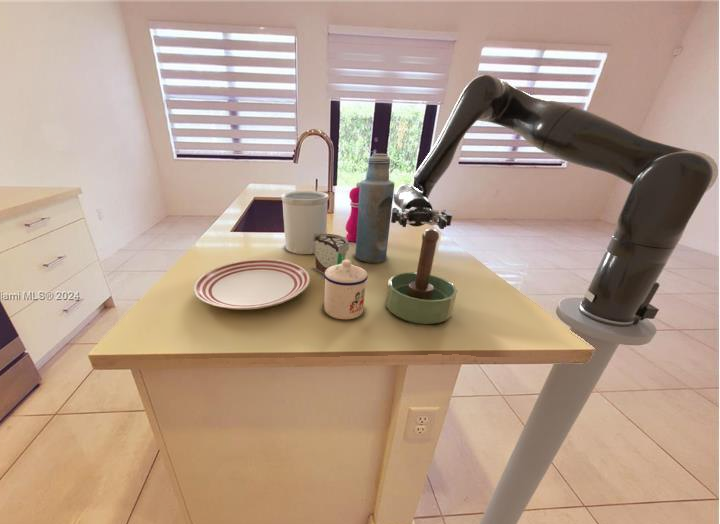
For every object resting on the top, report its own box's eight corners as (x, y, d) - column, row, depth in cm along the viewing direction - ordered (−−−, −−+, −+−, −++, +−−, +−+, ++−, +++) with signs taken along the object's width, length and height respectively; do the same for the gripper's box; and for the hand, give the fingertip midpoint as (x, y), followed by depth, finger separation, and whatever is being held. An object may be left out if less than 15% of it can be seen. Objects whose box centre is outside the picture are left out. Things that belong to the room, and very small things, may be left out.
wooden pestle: (427, 301, 72) (443, 226, 64) (431, 313, 68) (448, 233, 59) (404, 299, 73) (417, 224, 65) (406, 310, 68) (420, 231, 60)
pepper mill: (366, 238, 117) (372, 181, 108) (361, 243, 111) (366, 184, 102) (348, 235, 120) (352, 180, 111) (342, 240, 114) (345, 182, 105)
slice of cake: (356, 277, 85) (359, 242, 81) (338, 282, 82) (340, 246, 77) (329, 263, 94) (330, 230, 89) (312, 267, 91) (312, 233, 86)
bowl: (444, 297, 76) (449, 275, 73) (457, 330, 63) (464, 304, 61) (384, 292, 78) (387, 270, 75) (386, 323, 65) (389, 297, 62)
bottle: (371, 265, 93) (381, 155, 79) (348, 256, 100) (354, 153, 86) (392, 258, 98) (405, 154, 85) (369, 250, 105) (378, 152, 91)
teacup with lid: (356, 324, 64) (360, 272, 59) (316, 314, 68) (317, 264, 62) (372, 300, 74) (377, 253, 69) (337, 292, 77) (339, 247, 72)
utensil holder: (295, 258, 97) (294, 200, 89) (276, 244, 109) (273, 192, 100) (335, 251, 104) (337, 196, 96) (313, 238, 115) (314, 189, 107)
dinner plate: (183, 324, 63) (180, 310, 62) (205, 271, 87) (203, 259, 86) (317, 315, 67) (317, 301, 66) (303, 266, 91) (303, 256, 90)
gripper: (391, 194, 86) (394, 206, 72) (445, 196, 84) (459, 208, 70) (388, 221, 89) (390, 237, 75) (440, 224, 87) (452, 241, 73)
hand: (423, 223), depth 72 cm, fingers open, 8 cm apart
